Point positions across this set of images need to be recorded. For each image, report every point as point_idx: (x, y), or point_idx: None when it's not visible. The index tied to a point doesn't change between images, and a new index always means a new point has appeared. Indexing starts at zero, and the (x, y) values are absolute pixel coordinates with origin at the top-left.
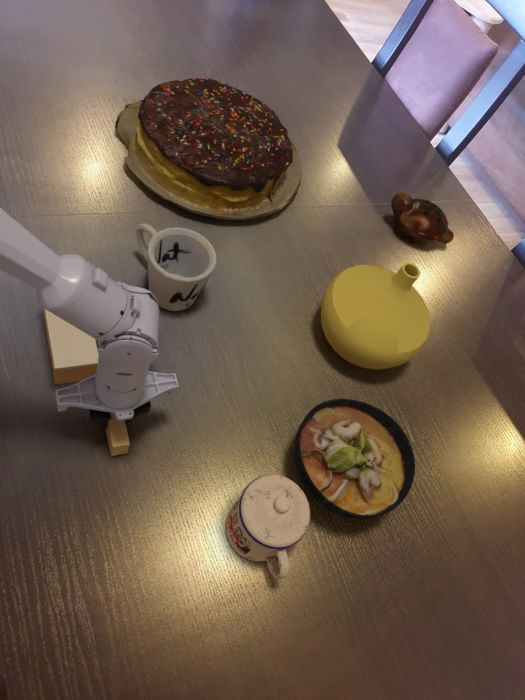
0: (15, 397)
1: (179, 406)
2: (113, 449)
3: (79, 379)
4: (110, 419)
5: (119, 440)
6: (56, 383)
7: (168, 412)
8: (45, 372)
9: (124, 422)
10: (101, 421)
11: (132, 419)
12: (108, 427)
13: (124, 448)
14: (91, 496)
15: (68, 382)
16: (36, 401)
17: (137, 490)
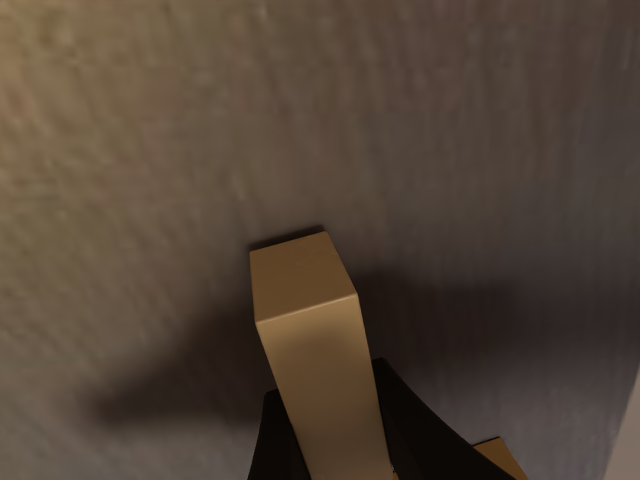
0: (612, 382)
1: (38, 463)
2: (342, 276)
3: None
4: (366, 422)
5: (319, 335)
6: (499, 444)
7: (84, 434)
8: (519, 459)
9: (294, 423)
10: (477, 473)
11: (256, 466)
12: (375, 384)
13: (277, 284)
14: (416, 16)
15: None
16: (559, 383)
17: (168, 48)
